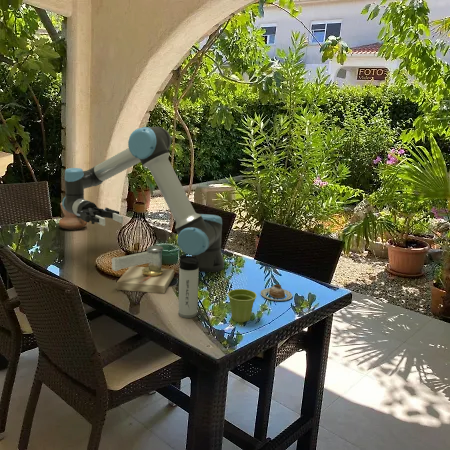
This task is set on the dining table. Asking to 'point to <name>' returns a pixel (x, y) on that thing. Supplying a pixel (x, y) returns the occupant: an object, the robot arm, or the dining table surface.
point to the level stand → (145, 281)
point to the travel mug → (188, 286)
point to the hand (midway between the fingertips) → (113, 220)
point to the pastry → (276, 293)
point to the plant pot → (241, 304)
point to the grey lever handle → (142, 261)
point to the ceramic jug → (71, 221)
